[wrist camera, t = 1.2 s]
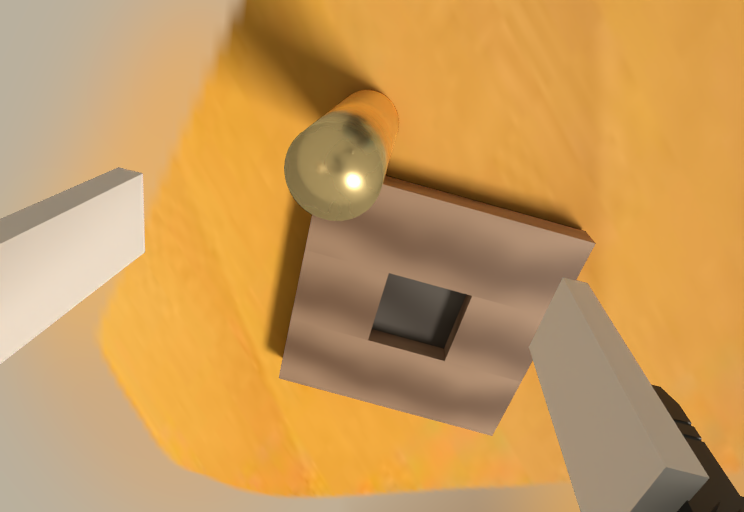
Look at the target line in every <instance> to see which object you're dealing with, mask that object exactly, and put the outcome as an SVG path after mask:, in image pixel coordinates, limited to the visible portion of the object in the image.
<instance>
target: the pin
mask: <svg viewBox="0 0 744 512" xmlns="http://www.w3.org/2000/svg"><path fill="white" fill-rule="evenodd" d="M398 128H399V118H398V113H397V110H396V108H395V106H394V104H393V103H392V102H391V101H390V99H389V98H387V97H386V96H385V95H383V94H382V93H380V92H377V91H373V90H361V91H357V92H355V93H353V94H351V95H350V96H348V97H347V98H346V99H345V100H343V101H342V102H341V103H339V104H338V105H337V106H335V107H334V108H333V109H332V110H330V111H329V112H328V113H326V114H325V115H324V116H322V117H321V118H320V119H319V120H317V121H316V122H315V123H313V124H312V125H311V126H309V127H308V128H307V129H306V130H304V131H303V132H302V133H300V134H299V135H298V136H297V137H296V138H295V140H294V141H293V142H292V144H291V145H290V147H289V149H288V152H287V154H286V159H285V166H284V171H285V179H286V183H287V186H288V188H289V191H290V193H291V194H292V196H293V198H294V199H295V200H296V201H297V203H298V204H299V205H300V206H301V207H302V208H304V209H305V210H306V211H307V212H309V213H311V214H312V215H314V216H316V217H319V218H322V219H325V220H330V221H344V220H349V219H352V218H355V217H357V216H359V215H361V214H363V213H364V212H366V211H367V210H368V209H369V208H370V207H371V206H372V205H373V204H374V202H375V201H376V199H377V198H378V196H379V194H380V191H381V188H382V185H383V181H384V178H385V174H386V171H387V167H388V164H389V160H390V157H391V153H392V150H393V146H394V143H395V139H396V136H397V132H398Z"/></svg>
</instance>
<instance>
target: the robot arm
mask: <svg viewBox="0 0 744 512" xmlns="http://www.w3.org/2000/svg"><path fill="white" fill-rule="evenodd" d="M143 199H144V198H143V174H142V173H139V172H135V171H131V170H126V169H123V168H116V169H114V170H112V171H109V172H107V173H105V174H102V175H100V176H98V177H95V178H93V179H91V180H88V181H86V182H84V183H82V184H79V185H77V186H75V187H73V188H70V189H68V190H66V191H63V192H61V193H59V194H57V195H54V196H52V197H50V198H47V199H45V200H43V201H41V202H38V203H36V204H33V205H31V206H29V207H27V208H24V209H22V210H20V211H18V212H15V213H13V214H11V215H8V216H6V217H4V218H1V219H0V364H1V363H2V362H4V361H5V360H6V359H7V358H9V357H10V356H11V355H12V354H14V353H15V352H16V351H18V350H19V349H20V348H21V347H23V346H24V345H25V344H27V343H28V342H29V341H31V340H32V339H33V338H34V337H36V336H37V335H38V334H40V333H41V332H42V331H44V330H45V329H46V328H47V327H49V326H50V325H51V324H52V323H54V322H55V321H56V320H58V319H59V318H60V317H62V316H63V315H64V314H66V313H67V312H68V311H69V310H71V309H72V308H73V307H75V306H76V305H77V304H78V303H80V302H81V301H82V300H84V299H85V298H86V297H87V296H89V295H90V294H91V293H92V292H94V291H95V290H96V289H98V288H99V287H100V286H101V285H103V284H104V283H106V282H107V281H108V280H109V279H111V278H112V277H113V276H115V275H116V274H117V273H118V272H120V271H121V270H122V269H124V268H125V267H126V266H128V265H129V264H130V263H131V262H133V261H134V260H135V259H137V258H138V257H139V256H140V255H142V254H143V253H144V252H145V235H144V200H143ZM529 349H530V352H531V356H532V359H533V362H534V365H535V368H536V371H537V375H538V378H539V381H540V384H541V387H542V391H543V394H544V397H545V400H546V403H547V406H548V410H549V413H550V416H551V419H552V422H553V425H554V429H555V432H556V435H557V438H558V441H559V445H560V448H561V451H562V454H563V457H564V460H565V464H566V467H567V470H568V473H569V476H570V480H571V483H572V486H573V489H574V492H575V495H576V499H577V502H578V505H579V508H580V511H581V512H744V497H742V496H740V495H739V493H738V492H737V491H736V489H735V488H734V486H733V485H732V483H731V482H730V480H729V479H728V477H727V476H726V474H725V473H724V471H723V470H722V468H721V467H720V465H719V464H718V462H717V461H716V459H715V458H714V456H713V455H712V453H711V452H710V450H709V449H708V447H707V446H706V444H705V443H704V442H701V439H702V438H701V437H700V435H699V434H698V432H697V431H696V429H695V428H694V427H693V426H691V422H690V420H689V419H688V417H687V416H686V414H685V413H684V411H683V410H682V408H681V407H680V405H679V404H678V403H677V402H676V401H675V400H674V399H673V398H672V397H670V396H669V395H668V394H667V393H666V392H665V391H664V390H663V389H662V388H661V387H659V386H655V385H651V384H650V382H649V381H648V379H647V377H646V376H645V374H644V373H643V371H642V369H641V368H640V366H639V365H638V363H637V361H636V360H635V358H634V357H633V355H632V353H631V352H630V350H629V349H628V347H627V345H626V344H625V342H624V341H623V339H622V337H621V336H620V334H619V333H618V331H617V330H616V328H615V326H614V325H613V323H612V322H611V320H610V318H609V317H608V315H607V314H606V312H605V310H604V309H603V307H602V306H601V304H600V302H599V301H598V299H597V298H596V296H595V294H594V293H593V291H592V290H591V288H590V286H589V285H588V283H585V282H581V281H577V280H573V279H568V278H564V277H563V278H562V280H561V282H560V284H559V286H558V288H557V290H556V292H555V294H554V296H553V298H552V300H551V302H550V304H549V307H548V309H547V311H546V313H545V315H544V317H543V319H542V321H541V323H540V325H539V327H538V329H537V331H536V333H535V335H534V337H533V340H532V342H531V344H530V346H529Z"/></svg>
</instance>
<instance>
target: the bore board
mask: <svg viewBox="0 0 744 512" xmlns="http://www.w3.org/2000/svg"><path fill="white" fill-rule="evenodd" d="M595 244H596V243H595V242H594V241H593V240H592V239H591V237H590V236H589V235H588V234H587V233H586V231H583V230H579V229H575V228H572V227H568V226H565V225H561V224H558V223H554V222H550V221H547V220H543V219H540V218H536V217H532V216H529V215H525V214H522V213H518V212H514V211H511V210H507V209H504V208H500V207H497V206H493V205H489V204H486V203H482V202H479V201H475V200H471V199H468V198H464V197H461V196H457V195H454V194H450V193H446V192H443V191H439V190H436V189H432V188H428V187H425V186H421V185H418V184H414V183H410V182H407V181H403V180H400V179H396V178H393V177H389V176H385V178H384V181H383V185H382V188H381V191H380V194H379V196H378V198H377V199H376V201H375V202H374V204H373V205H372V206H371V207H370V208H369V209H368V210H367V211H366V212H364V213H363V214H361V215H359V216H357V217H355V218H352V219H349V220H344V221H330V220H325V219H322V218H319V217H316V216H314V215H312V218H311V223H310V228H309V233H308V238H307V243H306V247H305V252H304V257H303V262H302V267H301V272H300V277H299V282H298V287H297V291H296V296H295V301H294V306H293V311H292V316H291V321H290V326H289V331H288V335H287V340H286V345H285V350H284V355H283V360H282V365H281V370H280V375H279V378H280V379H284V380H287V381H291V382H295V383H298V384H302V385H306V386H310V387H313V388H317V389H321V390H324V391H328V392H332V393H335V394H339V395H343V396H347V397H350V398H354V399H358V400H361V401H365V402H369V403H373V404H376V405H380V406H384V407H387V408H391V409H395V410H398V411H402V412H406V413H410V414H413V415H417V416H421V417H424V418H428V419H432V420H435V421H439V422H443V423H447V424H450V425H454V426H458V427H461V428H465V429H469V430H472V431H476V432H480V433H484V434H487V435H491V436H492V435H493V433H494V431H495V429H496V428H497V426H498V424H499V422H500V420H501V418H502V416H503V415H504V413H505V411H506V409H507V407H508V405H509V403H510V402H511V400H512V398H513V396H514V394H515V392H516V390H517V389H518V387H519V385H520V383H521V381H522V379H523V377H524V376H525V374H526V372H527V370H528V368H529V366H530V364H531V363H532V361H533V359H532V356H531V352H530V349H529V346H530V344H531V342H532V340H533V337H534V335H535V333H536V331H537V329H538V327H539V325H540V323H541V321H542V319H543V317H544V315H545V313H546V311H547V309H548V307H549V304H550V302H551V300H552V298H553V296H554V294H555V292H556V290H557V288H558V286H559V284H560V282H561V280H562V278H563V277H564V278H568V279H573V280H576V279H577V277H578V275H579V273H580V271H581V270H582V268H583V266H584V264H585V262H586V260H587V258H588V257H589V255H590V253H591V251H592V249H593V247H594V245H595Z"/></svg>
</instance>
